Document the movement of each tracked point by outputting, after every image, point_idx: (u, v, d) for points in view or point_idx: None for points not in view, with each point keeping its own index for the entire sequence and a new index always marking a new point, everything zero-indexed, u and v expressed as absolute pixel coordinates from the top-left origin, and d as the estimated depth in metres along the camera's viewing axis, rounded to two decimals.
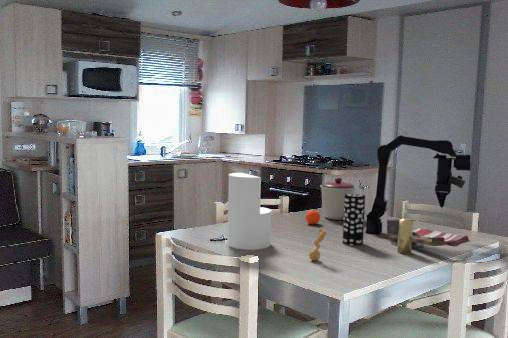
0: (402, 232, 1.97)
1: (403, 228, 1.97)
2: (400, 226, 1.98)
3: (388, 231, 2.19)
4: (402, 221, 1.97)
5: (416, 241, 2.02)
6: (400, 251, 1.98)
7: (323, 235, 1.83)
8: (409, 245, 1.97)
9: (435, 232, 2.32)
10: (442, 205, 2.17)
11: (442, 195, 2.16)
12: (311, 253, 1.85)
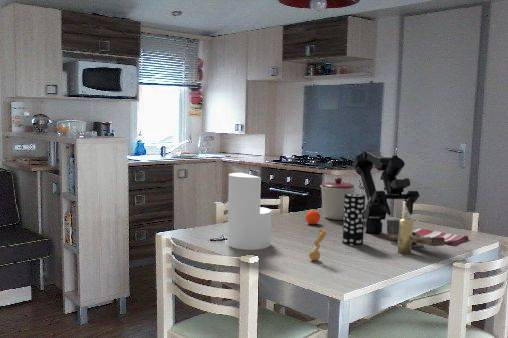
0: (402, 232, 1.97)
1: (403, 228, 1.97)
2: (400, 226, 1.98)
3: (388, 231, 2.19)
4: (402, 221, 1.97)
5: (416, 241, 2.02)
6: (400, 251, 1.98)
7: (323, 235, 1.83)
8: (409, 245, 1.97)
9: (435, 232, 2.32)
10: (388, 212, 2.06)
11: (383, 203, 2.09)
12: (311, 253, 1.85)
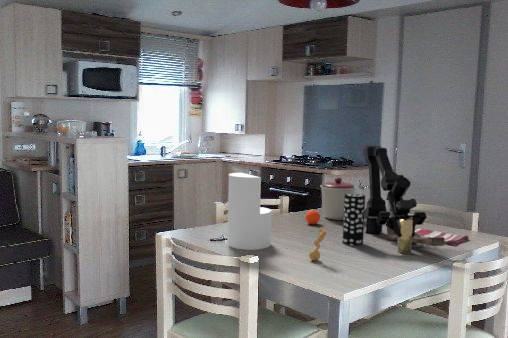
0: (402, 232, 1.97)
1: (403, 228, 1.97)
2: (400, 226, 1.98)
3: (388, 231, 2.19)
4: (402, 221, 1.97)
5: (416, 241, 2.02)
6: (400, 251, 1.98)
7: (323, 235, 1.83)
8: (409, 245, 1.97)
9: (435, 232, 2.32)
10: (398, 234, 1.98)
11: (393, 225, 2.01)
12: (311, 253, 1.85)
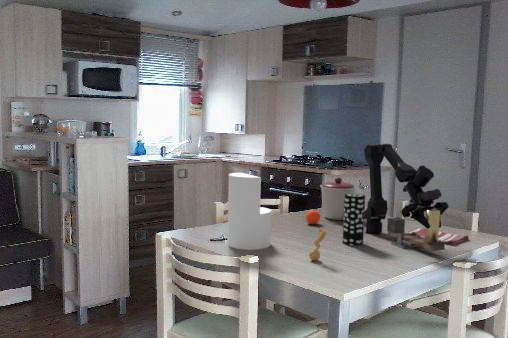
0: (431, 223, 1.95)
1: (432, 219, 1.94)
2: (428, 217, 1.95)
3: (388, 229, 2.19)
4: (431, 212, 1.94)
5: (416, 243, 2.02)
6: (428, 242, 1.96)
7: (323, 235, 1.83)
8: (437, 236, 1.96)
9: None
10: (427, 225, 1.95)
11: (420, 216, 1.98)
12: (311, 253, 1.85)
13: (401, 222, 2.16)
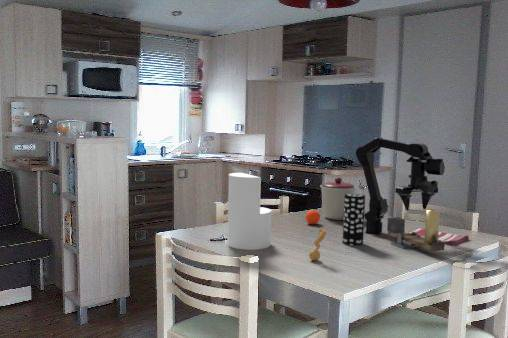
0: (431, 223, 1.95)
1: (432, 219, 1.95)
2: (428, 217, 1.95)
3: (388, 229, 2.19)
4: (430, 212, 1.95)
5: (416, 243, 2.02)
6: (428, 242, 1.96)
7: (323, 235, 1.83)
8: (437, 236, 1.96)
9: None
10: (406, 208, 2.18)
11: (405, 198, 2.17)
12: (311, 253, 1.85)
13: (401, 222, 2.16)
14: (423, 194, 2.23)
